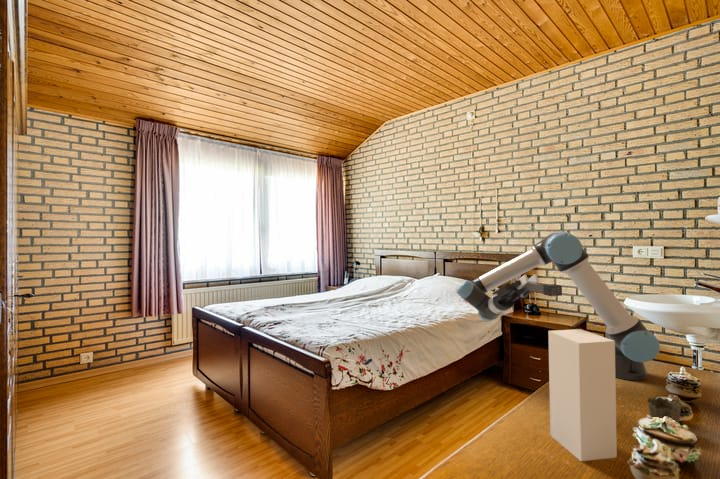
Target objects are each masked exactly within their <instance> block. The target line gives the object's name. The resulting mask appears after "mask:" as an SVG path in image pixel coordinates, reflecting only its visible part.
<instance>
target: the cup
mask: <svg viewBox="0 0 720 479" xmlns="http://www.w3.org/2000/svg"><path fill="white" fill-rule="evenodd" d="M647 403H648V404H647V405H648V411H649V415H650V418H651V417H659V418H663V417H664V416H668V417H670V418H672V419H673V420H675V421H676V422H678V424H679V422H680V418H681V411H682V410H681V409H682V406H681V404H680V403H677V401H673V402H670V401H669V399H668V398H665V399H664V398H662V397H660V396H659V397H657V398H656V397H655V396H653V397H648V398H647Z"/></svg>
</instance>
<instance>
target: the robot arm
mask: <svg viewBox="0 0 720 479" xmlns="http://www.w3.org/2000/svg"><path fill="white" fill-rule="evenodd" d="M589 258H590V255H589V254H588V253H587V252H586V250H585V249H584V248H583V244H582V243H581V241H580V239H579V238H578V237H577V236H575V235H574V234H572V233H569V232H564V231H561V232H553V233H550V234H549V235H547V236H546V237H544V238H542V240H540V241H538V242H537V243H535V244H533V245H532V246H531V248H530V249H529V250H528V251H525V252H524V253H522V254H520V255H518V256H516V257H514V258H512V259H510V260H508V261H507V262H504V263H503V264H501V265H499V266H497V267H495V268H494V269H492V270H490V271H487V272H486V273H484V274H482V275H481V276H479V277H477V278H475V279H473V280H468V279H465V280H464V281H463V282H462V283H461V285H460V286H459V287H458V289H457V290H456V294H457V295H459V297H460V298H461V299H462V300H464V301H466V303H468V304H469V305H471V306H472V307H473V308H474V309H476V310H477V311H478V312H477V313H478V315H479V318H480V319H481V320H483V321H484V322H492V321H494V320H496V319H497V318H499V316H502V315H503V314H504V313H505V312H507V311H508V310H510V309H511V308H512V307H513V306H514V305H515V303H516V300H519V299H520V298H521V297H522V298H523V299H527V298H528V296H530V295H531V293H534V292H533V291H529V290H525V289H521V288H522V287H523V286H524V285H525V284H527V283H528V282H529V281H532V282H537V283H540V279H539V277H538V274H537V273H534V274H533V275H531V276H530V277H528V276H527V274H525V273H527V272H530V271H531V270H533V269H535V268H537V267H539V266H541V265H542V266H546V265H549V264H550V263H553V264H554V266H555V267H556V268H557V270H558V271H559V272H560V273H563V274H566V275H567V276H568V277H569V279H570V280H571V281H572V283H573V284H574V285H575V286H576V288H577V289H578V290H579V291H580V293H581V295H583V297H584V299H586V301H587V302H588V303H589V304H590V306H591V307H592V309H593V310H594V311H595V312H596V313H597V316H599V318H600V319H601V320H602V322H603V323H604V327H605V328H604V329H605V331H604V333H605V338H608V339H611V340H614V341H615V378H617V379H623V380H627V381H644V380H646V379H648V370H647V368H646V365H645V363H648V362H650V361H653V360H654V359H656V358H657V357H658V355H659V353H660V351H661V344H660V342H659V339H658V338H657V336H656V335H655V334H653V333H652V332H650V331H649V330H648V329H647V327H646V326H645V325H644V323H642V321H641V319H640V318H639V317H637V316H635V315H631V314H630V313H629V311H627V309H626V308H625V307H624V306H623V304H622V303H621V302H620V300H619V299H618V298H617V296H616V295H615V294H614V293H613V292H612V290H611V289H610V288H609V286H608V285H607V284H606V283H605V282H604V280H603V279H602V278H601V276H600V275H599V274H598V272H596V269H595V268H594V267H593V266H592V264H591V263H590V262H589V260H590V259H589ZM521 275H522V276H521ZM519 276H521V277H520V278H519V279H516V280H517V281H516V282H515V281H514V282H511V283H508V282H509V281H512V280H513V279H515V278H517V277H519ZM505 283H506V284H505ZM500 286H501V287H500ZM497 287H500V288H498V289H497V290H496V291H494V292H492V296H491V297H490V296H489V295H488V294H487V293H488V292H490V291H492V290H494V289H496V288H497Z"/></svg>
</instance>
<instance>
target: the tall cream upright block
mask: <svg viewBox="0 0 720 479" xmlns="http://www.w3.org/2000/svg"><path fill="white" fill-rule="evenodd" d="M547 335H548V374H549V376H548V377H549V378H548V380H549V386H548V387H549V389H548V390H549V429H550V430H549V435H550V437H552V438H553V439H554V440H555V441H556V442H557V443H558V444H560V446H562V447H563V448H565V450H567V451H569V453H570V454H572V455H573V456H574V457H575V458H576V459H577V460H578V461H580V462H587V461H597V460H598V461H599V460H606V459H613V458H617V456H618V455H617V454H618V451H617V449H618V448H617V447H618V445H617V444H618V443H617V400H616V399H617V397H616V396H617V394H616V393H617V391H616V390H617V389H616V384H617V383H616V377H615V341H614V340H611V339H608V338H606V336H605V337H604V336H601V335H599V334H596V333H593V332H590V331H587V330H584V329H582V328H574V329H559V330H557V329H556V330H548V334H547Z"/></svg>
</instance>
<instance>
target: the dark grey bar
mask: <svg viewBox="0 0 720 479" xmlns="http://www.w3.org/2000/svg"><path fill="white" fill-rule="evenodd" d="M517 280H518V279H515V280H514V282H516V281H517ZM521 289H525V290H529V291H533V292H532V293H538V294H541V295H544V296H549V297H559V296H560V297H561V296H563V286H562V285H559V284H555V283H554V284H546V283H541V282H538V283H537V282H532V281H529V282H528V283H527V284H525V285H524V286H523V287H522V288H521Z"/></svg>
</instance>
